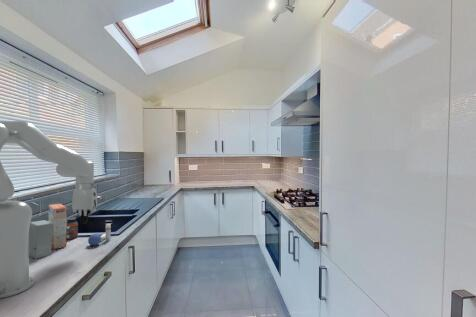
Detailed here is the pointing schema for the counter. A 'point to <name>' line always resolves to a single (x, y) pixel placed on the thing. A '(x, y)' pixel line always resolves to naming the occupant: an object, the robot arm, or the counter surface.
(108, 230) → the grey pin
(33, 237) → the skincare box
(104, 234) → the cream pin
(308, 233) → the counter surface
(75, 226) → the supplement bottle
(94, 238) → the ball
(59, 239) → the cracker box
